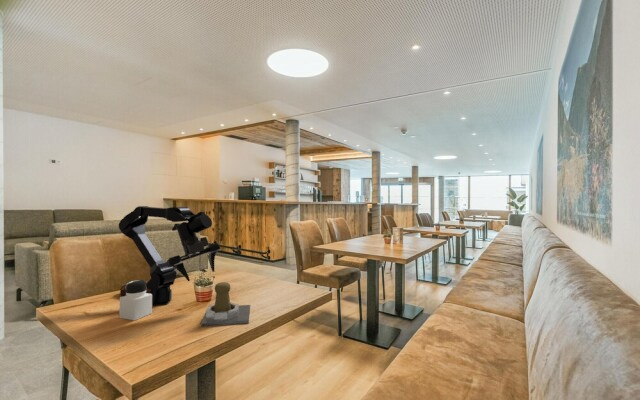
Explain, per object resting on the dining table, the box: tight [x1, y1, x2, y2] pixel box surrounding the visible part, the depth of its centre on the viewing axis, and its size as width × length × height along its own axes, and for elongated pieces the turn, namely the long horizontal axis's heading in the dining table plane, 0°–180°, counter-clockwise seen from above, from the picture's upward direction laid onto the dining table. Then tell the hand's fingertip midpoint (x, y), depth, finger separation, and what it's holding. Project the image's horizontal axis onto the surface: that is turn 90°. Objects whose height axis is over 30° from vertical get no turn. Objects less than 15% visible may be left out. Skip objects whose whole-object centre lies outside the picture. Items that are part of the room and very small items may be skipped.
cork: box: [214, 281, 231, 312], centre depth 105 cm, size 6×6×11 cm
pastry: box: [119, 279, 151, 297], centre depth 131 cm, size 11×12×6 cm
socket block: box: [200, 301, 251, 327], centre depth 106 cm, size 15×15×4 cm
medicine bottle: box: [119, 279, 153, 322], centre depth 106 cm, size 7×7×12 cm
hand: (201, 276), depth 113 cm, fingers open, 9 cm apart
